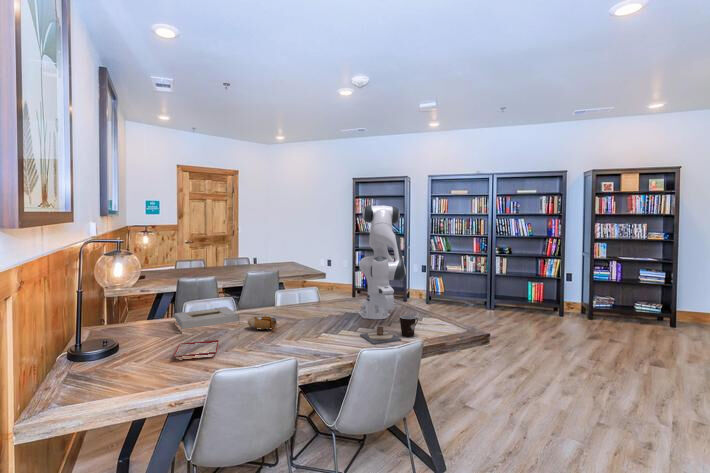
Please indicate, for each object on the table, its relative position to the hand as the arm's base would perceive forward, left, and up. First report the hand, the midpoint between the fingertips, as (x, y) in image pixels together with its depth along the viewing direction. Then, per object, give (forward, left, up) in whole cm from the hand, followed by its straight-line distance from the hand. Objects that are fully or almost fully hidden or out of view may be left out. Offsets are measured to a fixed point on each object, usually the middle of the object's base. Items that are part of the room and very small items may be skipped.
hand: (381, 314), depth 202 cm
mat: (-1, 0, -12) cm, 12 cm away
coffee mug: (+1, +17, -13) cm, 21 cm away
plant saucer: (-14, -88, -13) cm, 90 cm away
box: (-64, -82, -13) cm, 105 cm away
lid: (-1, 0, -12) cm, 12 cm away
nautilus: (-40, -52, -13) cm, 67 cm away
